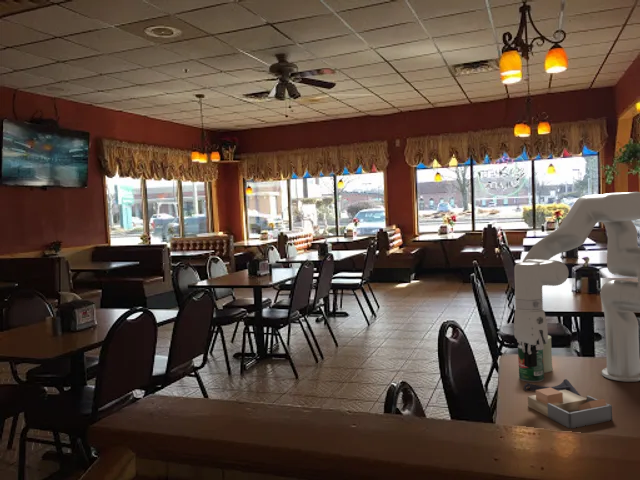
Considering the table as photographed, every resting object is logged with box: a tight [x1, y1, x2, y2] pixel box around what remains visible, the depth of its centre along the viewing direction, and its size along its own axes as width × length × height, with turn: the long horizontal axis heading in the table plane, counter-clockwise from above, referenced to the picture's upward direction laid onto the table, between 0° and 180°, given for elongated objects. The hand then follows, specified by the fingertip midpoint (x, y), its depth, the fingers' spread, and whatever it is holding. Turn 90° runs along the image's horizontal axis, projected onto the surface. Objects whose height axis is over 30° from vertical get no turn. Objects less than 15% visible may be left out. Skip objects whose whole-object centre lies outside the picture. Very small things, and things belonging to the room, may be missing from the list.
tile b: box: [535, 386, 563, 404], centre depth 155 cm, size 5×5×2 cm
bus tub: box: [547, 395, 613, 429], centre depth 148 cm, size 14×8×4 cm, turn 106°
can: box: [543, 334, 554, 374], centre depth 193 cm, size 9×9×12 cm
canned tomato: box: [517, 344, 545, 383], centre depth 183 cm, size 8×8×11 cm
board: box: [527, 390, 587, 418], centre depth 157 cm, size 13×9×3 cm
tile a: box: [578, 398, 608, 411], centre depth 148 cm, size 5×5×2 cm
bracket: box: [523, 378, 581, 396], centre depth 172 cm, size 14×15×3 cm
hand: (530, 366), depth 161 cm, fingers closed
